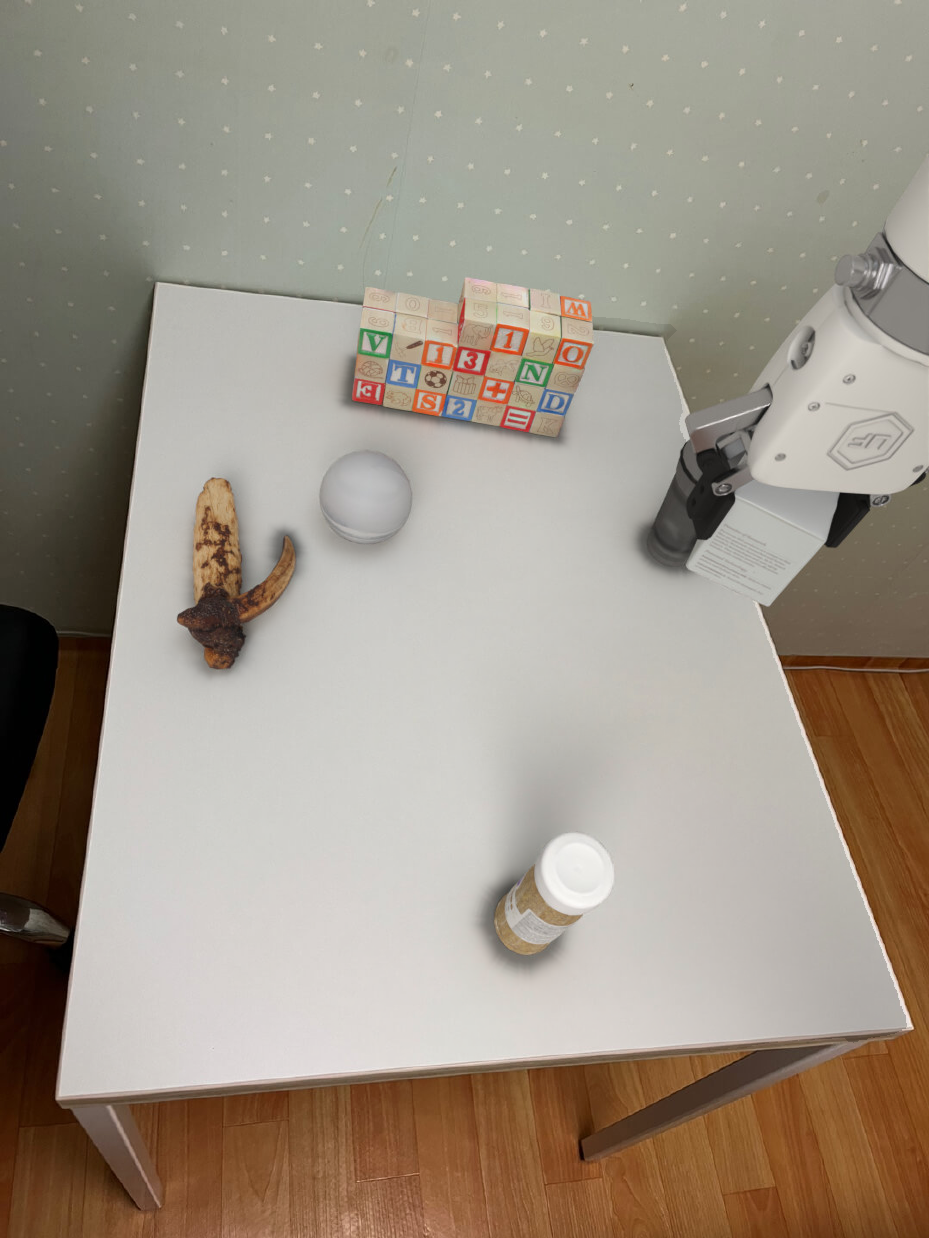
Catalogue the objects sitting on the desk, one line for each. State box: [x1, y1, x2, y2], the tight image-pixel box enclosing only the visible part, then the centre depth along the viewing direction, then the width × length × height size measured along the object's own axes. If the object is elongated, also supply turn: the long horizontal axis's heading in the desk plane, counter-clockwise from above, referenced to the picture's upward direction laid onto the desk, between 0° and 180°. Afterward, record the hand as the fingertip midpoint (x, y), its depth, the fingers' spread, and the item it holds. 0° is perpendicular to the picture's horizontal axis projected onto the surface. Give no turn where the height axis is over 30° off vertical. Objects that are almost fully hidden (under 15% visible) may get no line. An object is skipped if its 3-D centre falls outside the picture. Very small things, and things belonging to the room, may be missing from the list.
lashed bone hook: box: [176, 476, 297, 670], centre depth 70 cm, size 9×5×18 cm
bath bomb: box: [318, 449, 413, 545], centre depth 74 cm, size 8×8×8 cm
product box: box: [685, 453, 840, 607], centre depth 55 cm, size 6×6×7 cm
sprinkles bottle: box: [493, 831, 616, 956], centre depth 56 cm, size 5×5×13 cm
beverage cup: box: [646, 432, 746, 567], centre depth 75 cm, size 7×7×20 cm
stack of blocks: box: [351, 276, 595, 438], centre depth 84 cm, size 21×6×12 cm, turn 88°
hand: (761, 525), depth 55 cm, fingers closed on product box, 8 cm apart
